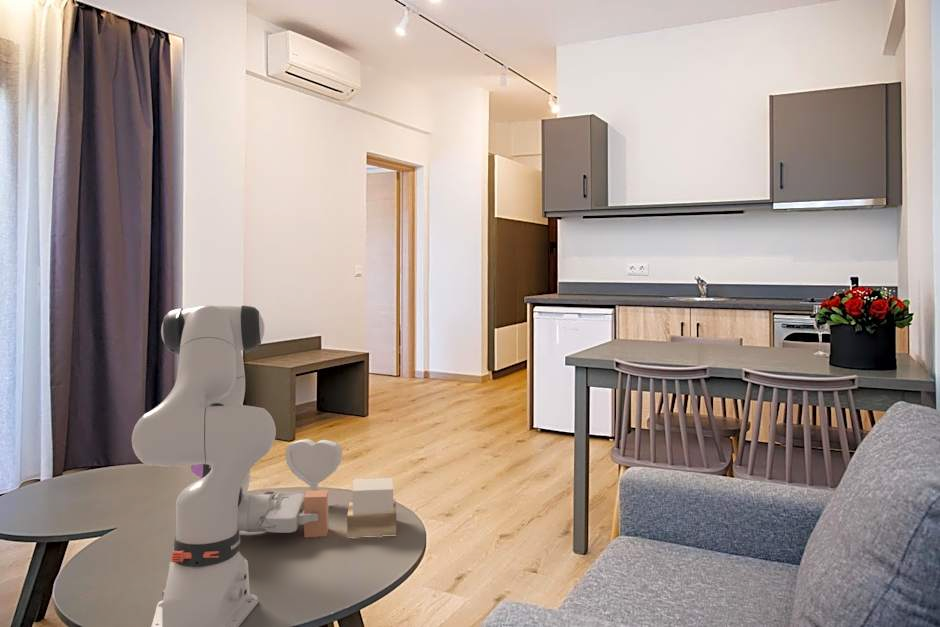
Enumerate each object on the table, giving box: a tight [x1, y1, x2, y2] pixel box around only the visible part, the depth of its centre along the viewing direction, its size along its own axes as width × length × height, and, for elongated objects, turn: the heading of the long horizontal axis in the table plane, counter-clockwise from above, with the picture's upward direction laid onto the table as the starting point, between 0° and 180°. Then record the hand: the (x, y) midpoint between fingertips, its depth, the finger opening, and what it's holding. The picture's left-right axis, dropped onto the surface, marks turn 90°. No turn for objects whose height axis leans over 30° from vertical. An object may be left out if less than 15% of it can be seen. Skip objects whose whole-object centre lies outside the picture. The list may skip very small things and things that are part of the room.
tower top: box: [352, 477, 394, 515], centre depth 177 cm, size 10×10×6 cm
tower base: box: [346, 498, 397, 537], centre depth 177 cm, size 12×12×6 cm
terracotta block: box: [303, 489, 329, 538], centre depth 174 cm, size 5×5×10 cm
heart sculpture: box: [284, 438, 343, 491], centre depth 198 cm, size 16×5×18 cm, turn 83°
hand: (319, 511), depth 174 cm, fingers open, 7 cm apart
